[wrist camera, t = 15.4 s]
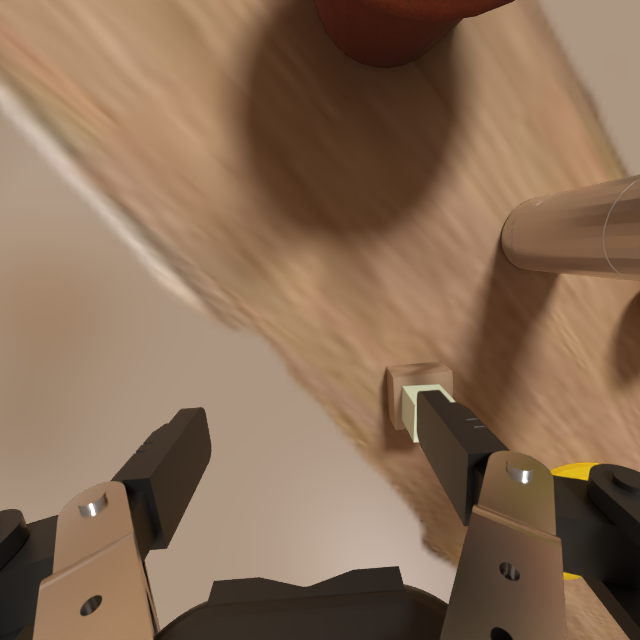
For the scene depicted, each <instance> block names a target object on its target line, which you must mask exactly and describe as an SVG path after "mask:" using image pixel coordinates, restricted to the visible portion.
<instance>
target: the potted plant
mask: <svg viewBox="0 0 640 640" xmlns="http://www.w3.org/2000/svg"><path fill="white" fill-rule="evenodd" d="M314 1H315V4H316V8H317V11H318V15H319V17H320V20H321V22H322V24H323V26H324V28H325V30H326V32H327V33H328V35H329V36H330V37H331V39H332V40H333V41H334V43H335V44H336V45H337V46H338V47H339V48H340V49H341V50H342V51H343V52H344V53H345V54H347V55H348V56H350V57H351V58H353V59H355V60H356V61H358V62H360V63H363V64H366V65H369V66H372V67H384V68H388V67H395V66H401V65H403V64H406V63H409V62H411V61H414V60H415V59H417V58H418V57H420V56H421V55H423V54H425V53H426V52H427V51H428V50H429V49H431V48H432V47H433V46H434V45H435V44H436V43H437V42H438V41H439V40H440V39H441V38H442V37H444V36H445V35H446V34H447V33H448V32H449V31H450V30H451V29H452V28H453V27H454V26H456V25H457V24H458V23H459V22H460V21H461V20H462V19H463V18H467V17H474V16H478V15H480V14H483V13H485V12H488V11H490V10H493V9H495V8H498V7H501V6H503V5H506V4H508V3H511V2H513V1H514V0H314Z"/></svg>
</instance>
